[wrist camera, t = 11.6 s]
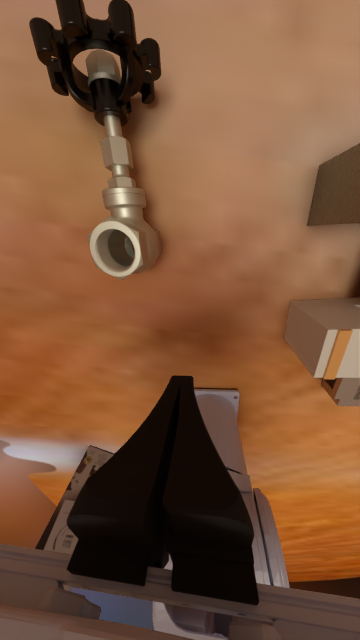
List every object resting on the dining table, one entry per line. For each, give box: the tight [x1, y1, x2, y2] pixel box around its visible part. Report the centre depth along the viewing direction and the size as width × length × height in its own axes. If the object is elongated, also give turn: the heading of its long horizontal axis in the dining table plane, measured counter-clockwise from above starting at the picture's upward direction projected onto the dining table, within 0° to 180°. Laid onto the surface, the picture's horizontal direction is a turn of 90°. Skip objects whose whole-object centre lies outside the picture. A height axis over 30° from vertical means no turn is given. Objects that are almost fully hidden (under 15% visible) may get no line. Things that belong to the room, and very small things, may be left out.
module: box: [284, 297, 360, 379], centre depth 16 cm, size 4×7×6 cm
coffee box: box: [35, 446, 114, 591], centre depth 29 cm, size 9×6×16 cm
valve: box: [29, 0, 162, 280], centre depth 13 cm, size 7×7×12 cm
